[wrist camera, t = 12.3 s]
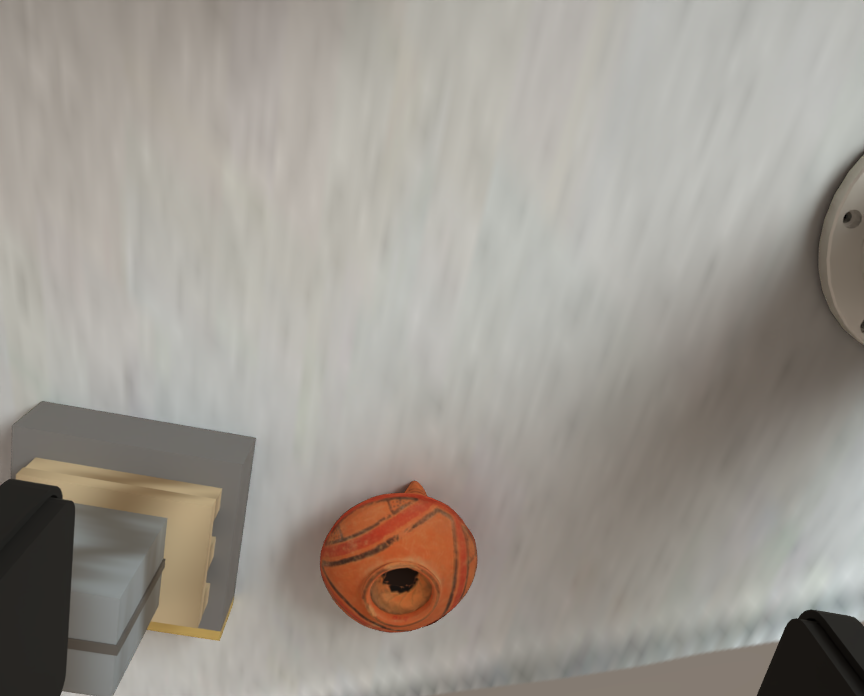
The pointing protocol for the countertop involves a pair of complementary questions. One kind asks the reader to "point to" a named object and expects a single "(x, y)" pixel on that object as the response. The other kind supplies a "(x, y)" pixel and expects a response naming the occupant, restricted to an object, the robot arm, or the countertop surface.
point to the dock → (157, 457)
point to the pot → (398, 561)
